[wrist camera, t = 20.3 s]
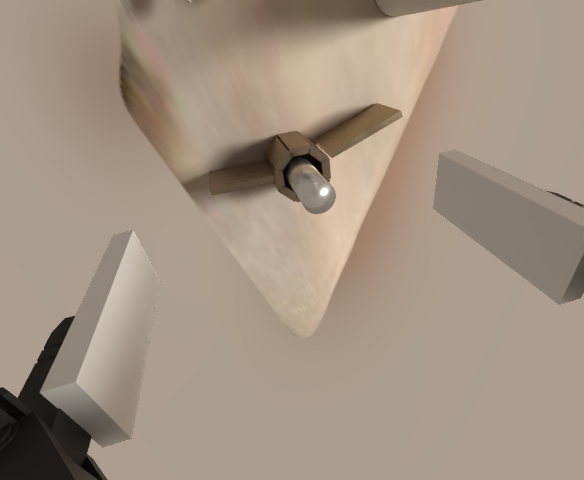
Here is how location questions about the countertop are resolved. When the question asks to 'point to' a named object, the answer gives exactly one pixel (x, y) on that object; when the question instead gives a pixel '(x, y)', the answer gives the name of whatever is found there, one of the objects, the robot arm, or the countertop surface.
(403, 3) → the bottle
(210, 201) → the countertop surface
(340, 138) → the loose leaf
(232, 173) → the knuckle and fixed leaf
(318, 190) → the hinge pin
